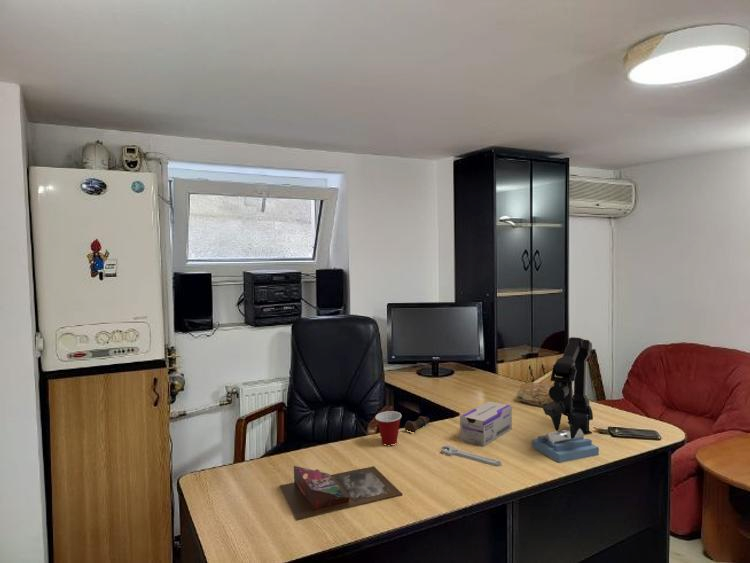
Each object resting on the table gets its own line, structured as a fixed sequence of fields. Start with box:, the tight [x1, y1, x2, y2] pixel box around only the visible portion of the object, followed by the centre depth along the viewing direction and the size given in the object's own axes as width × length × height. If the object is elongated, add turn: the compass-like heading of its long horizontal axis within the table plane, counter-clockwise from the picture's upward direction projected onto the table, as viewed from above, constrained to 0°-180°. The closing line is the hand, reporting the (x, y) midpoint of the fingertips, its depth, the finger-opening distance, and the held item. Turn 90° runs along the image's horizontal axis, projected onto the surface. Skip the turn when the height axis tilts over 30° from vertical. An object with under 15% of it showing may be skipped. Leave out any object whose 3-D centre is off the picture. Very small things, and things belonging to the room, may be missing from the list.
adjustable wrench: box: [440, 445, 502, 467], centre depth 188 cm, size 25×6×2 cm, turn 46°
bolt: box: [404, 415, 430, 433], centre depth 222 cm, size 6×5×15 cm
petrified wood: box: [515, 381, 553, 408], centre depth 252 cm, size 19×13×10 cm
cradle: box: [531, 434, 600, 464], centre depth 193 cm, size 18×16×5 cm
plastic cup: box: [374, 410, 402, 445], centre depth 204 cm, size 11×11×12 cm
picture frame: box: [279, 465, 403, 522], centre depth 165 cm, size 24×35×8 cm
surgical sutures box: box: [459, 400, 513, 448], centre depth 212 cm, size 25×11×11 cm, turn 139°
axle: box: [545, 428, 585, 447], centre depth 193 cm, size 14×5×5 cm, turn 109°
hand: (564, 434), depth 193 cm, fingers open, 8 cm apart
